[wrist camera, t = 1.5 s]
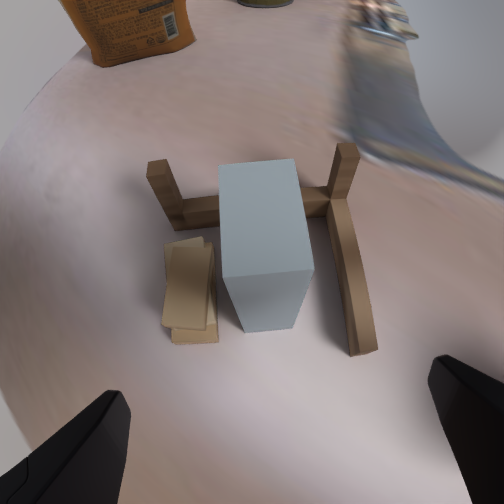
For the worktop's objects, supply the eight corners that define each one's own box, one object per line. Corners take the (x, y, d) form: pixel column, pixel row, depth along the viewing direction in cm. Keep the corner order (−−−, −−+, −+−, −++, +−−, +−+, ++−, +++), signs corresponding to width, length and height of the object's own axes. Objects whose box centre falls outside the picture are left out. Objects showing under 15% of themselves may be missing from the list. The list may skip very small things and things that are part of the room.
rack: (366, 353, 20) (408, 336, 13) (175, 372, 20) (135, 363, 14) (336, 202, 25) (355, 143, 18) (175, 217, 25) (148, 161, 19)
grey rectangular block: (292, 328, 21) (314, 268, 11) (244, 332, 21) (222, 277, 11) (284, 260, 23) (293, 158, 13) (239, 264, 23) (218, 165, 13)
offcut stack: (222, 341, 21) (215, 334, 18) (171, 344, 21) (157, 337, 18) (217, 247, 24) (210, 228, 21) (171, 252, 24) (159, 233, 21)
